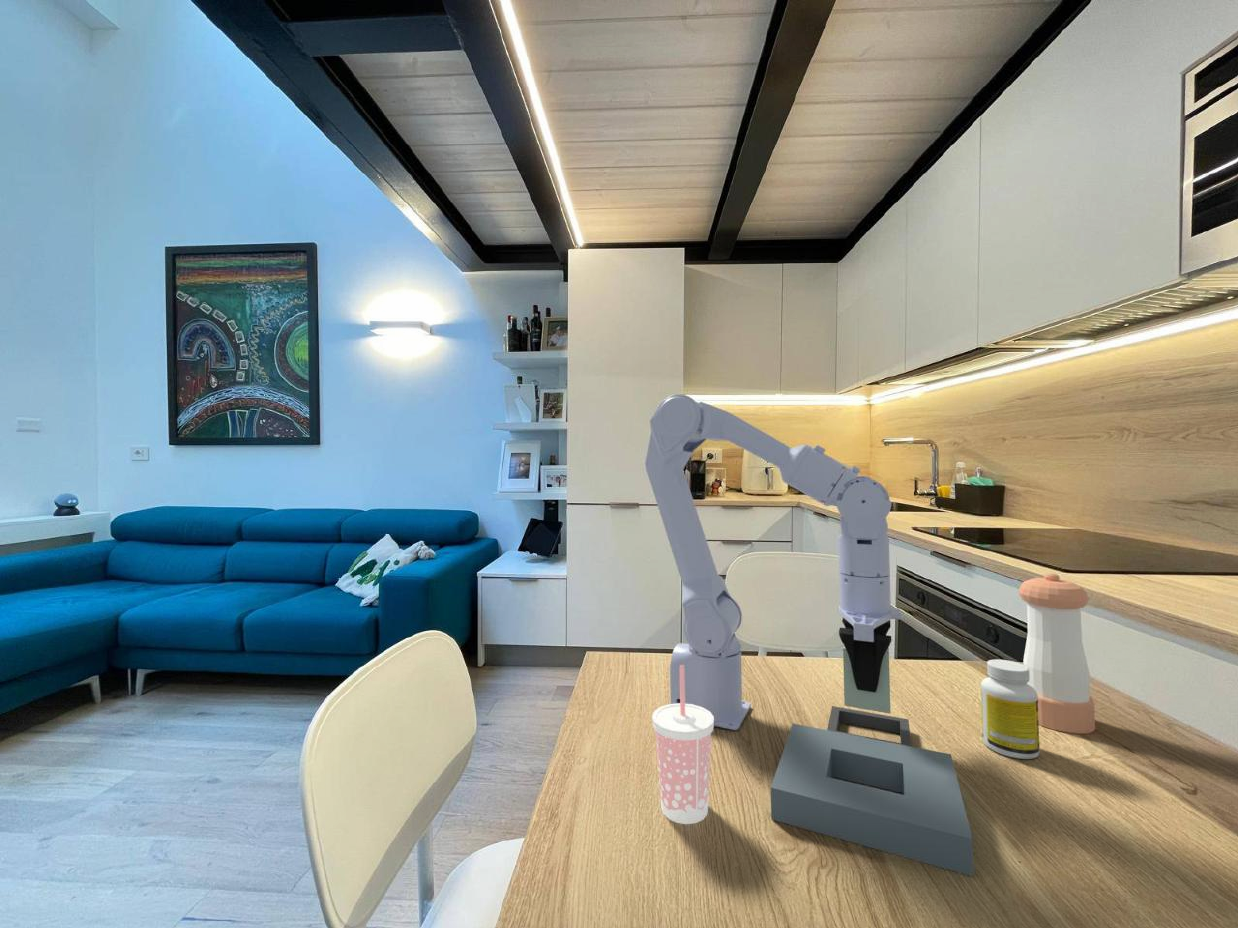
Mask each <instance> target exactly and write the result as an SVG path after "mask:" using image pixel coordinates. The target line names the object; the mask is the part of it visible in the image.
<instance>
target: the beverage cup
mask: <svg viewBox="0 0 1238 928" xmlns="http://www.w3.org/2000/svg"><path fill="white" fill-rule="evenodd" d="M651 720H652V727H653V729H654V731H655V743H656V754H657V756H656V757H657V769H658V780H659V781H658V782H659V795H660V807H661V811H662V813H663V815H664V816H665V818H667V819H668V820H669V821H672V822H674V823H676V824H677V823H678V824H682V825H683V824H684V825H691V824H692V825H693V824H697V823H699V822H702V821H703V820H704V819H705V818H707V816H708V812H709V795H710V794H709V792H710V791H709V790H710V789H709V788H710V769H711V768H710V767H711V766H710V765H711V763H710V762H711V743H712V741H711V738H712V733H713V732H714V727H715V726H714V716H713V715H712V714H711V712H710V711H708V710H707V709H705V708H703V707H700V706H697V705H693V704H685V676H684V665H680V703H676V704H671V703H669V704H665V705H662V706H659V707H658V708H657V709H655V710H654V711H653V713H652V716H651Z"/></svg>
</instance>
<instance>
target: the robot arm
mask: <svg viewBox="0 0 1238 928" xmlns="http://www.w3.org/2000/svg"><path fill="white" fill-rule="evenodd" d="M649 422H650V423H649V424H650V437H649V441H648V446H647V452H646V456H645V457H646V459H645V470H646V474H647V477H648V480H649V483H650V484H651V485H650V486H651V489H652V491H653V495H654V498H655V503H656V505H657V507H658V510H659V513H660V516H661V520H662V523H663V527H664V530H665V532H666V536H667V539H668V542H669V545H670V549H671V551H672V554H673V557H674V558H673V559H674V561H675V565H676V567H677V570H678V573H679V576H680V580H681V583H682V596H681V605H682V608H683V613H684V622H683V633H684V638H685V639H686V641H687V643H681V642H680V643H677V644H676V645H675V647H674V649H673V651H672V654H671V658H670V668H669V675H670V676H669V678H670V679H669V681H670V683H669V685H670V687H669V688H670V704H676V703H680V665H684V676H685V704H693V705H697V706H700V707H703V708H705V709H707V710H708V711H710V712H711V714H712V715H713V716H714V727H719V728H722V729H727V730H732V731H738V730H739V728H740V726H741V725H742V723H743V721H744V719H745V717H746V716H747V714H748V713H749V711H750V709H751V703H750V702H748V701H744V700H743V685H742V682H743V681H742V679H743V678H742V675H743V673H742V645H741V643H740V641H739V640H738V638H737V635H736V632H737V630H738V629H739V628H740V626H741V624H742V620H743V616H742V615H743V614H742V610H741V607H740V605H739V603H738V602H737V601H736V600H735V599H734V598H733V596H731V594H730V593H729V591H728V589H727V585H726V583H725V581H724V580H723V578H722V577H721V576H720V575H719V573H718V571H717V568H716V564H715V561H714V559H713V555H712V553H711V549H710V546H709V544H708V540H707V538H706V535H705V531H704V529H703V526H702V523H701V519H700V517H699V514H698V510H697V507H696V505H695V501H694V498H693V495H692V492H691V489H690V486H689V483H688V479H687V478H686V477H687V476H686V475H685V471H684V470H685V467H686V465H687V464H688V461H690V458H691V456H692V455H693V454H694V451H695V450H696V449H697V448H699V447H700V446H701V445H702V444H703V443H705V442H706V440H709V441H713V442H715V441H716V442H717V441H719V442H721V441H723V442H724V441H725V442H726V441H727V442H730V443H732V444H734V445H735V446H737V447H740V448H741V449H743V450H745V451H747V452H749V453H750V454H753V455H755V456H756V457H759V458H760V459H762V460H764V461H766V462H767V463H770V464H772V465H774V466H775V467H777V468H778V469H779V471H780V476H781V479H782V482H783V483H785V484H787V485H788V486H790V487H791V488H793V489H796V490H797V491H799V492H801V493H802V494H804V495H806V496H808V497H810V498H811V499H813V500H815V501H816V502H818V503H820V504H822V505H823V506H825V507H829V506H835V507H836V508H837V510H838V513H839V514H840V517H839V518H840V534H839V535H838V537H837V538H838V569H839V570H838V571H839V572H838V574H839V575H838V576H839V578H838V579H839V581H838V582H839V605H838V614H839V615H840V616H841V617H842V620H841V622H842V624H843V625H844V627H839V630H838V635H839V638H840V640H841V642H842V644H843V646H845V648H846V650H847V653H848V655H849V659H850V662H851V667H852V672H853V676H854V681H855V684H856V687H857V689H858V690H862V691H868V692H876V690H877V687H878V682H879V676H880V669H881V664H882V660H883V657H884V655H885V652H886V650H887V649H888V647H889V646H890V645H891V642H892V636H891V635H887V634H888V632H889V630H890V628H891V627H892V626H891V620H902V618H903V613H902V611H901V610H899V609H893V608H891V577H890V575H891V572H890V570H891V567H890V540H889V536H888V535H887V534H888V530H889V529H888V528H889V527H888V526H889V525H888V521H887V516H889V514H890V512H891V509H892V501H891V500H890V496H889V492H888V491H887V490H886V488H885V487H884V486H883V485H882V484H881V483H880V482H878V481H877V480H875V479H872V478H871V477H869V476H865V475H858V474H859V473H860V472H861V469H860V467H857V466H856V465H852V466H851V467H849V466H847V465H845V464H844V463H842V462H840V461H838V460H836V459H834V458H833V457H832V456H829V455H827V454H825V452H826V448H824V447H822V446H820V445H818V444H816V445H815V446H814V447H812V446H810V445H809V444H801V445H798V446H794V447H790V446H788V445H787V444H785V443H783V442H781V441H780V440H778V439H776V438H774V437H773V436H771V435H769V434H768V433H766V432H765V431H762V430H760V429H759V428H757V427H756V426H754V425H752V424H750V423H749V422H747V421H745V420H743V419H741V418H740V417H738V416H736V415H735V414H733V413H731V412H729V411H727V410H724V409H721V408H720V407H717V406H714V405H711V404H708V403H705V402H702V401H699V402H698V401H696V400H695V399H693V398H692V397H690V396H689V395H686V394H679V393H678V394H672V395H670V396H667V397H666V398H665V399H663V400H662V401H661V402H660V404H659V405H658V407H657V409H656V411H655V412H654V413H653V415H652V417H651V418H650V419H649Z"/></svg>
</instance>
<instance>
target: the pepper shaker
mask: <svg viewBox="0 0 1238 928" xmlns="http://www.w3.org/2000/svg"><path fill="white" fill-rule="evenodd" d="M1018 594H1019V596H1020V598H1021V599H1022V601H1024V602H1025V603H1026V612H1027V613H1026V614H1027V615H1026V616H1027V617H1026V620H1027V622H1026V623H1027V635H1026V637H1027V638H1026V642H1025V649H1024V654H1023V665H1025V666H1027V667H1028V668H1029V676H1030V679H1029V682H1027V684H1028V685H1030V686H1031V687H1033V688H1034V690H1035V691H1036V693H1037V697H1038V721H1039V726H1041V727H1044V728H1048V729H1051V730H1055V731H1059V732H1062V733H1069V734H1076V735H1077V734H1079V735H1081V734H1090V733H1093V732H1094V731H1095V730H1096V720H1095V719H1096V714H1095V702H1094V699H1093V698H1092V697H1091V696H1090V695H1091V693H1090V689H1091V687H1090V679H1091V677H1090V675H1091V673H1090V668H1089V665H1088V661H1087V656H1086V652H1085V649H1084V644H1083V643H1084V642H1083V632H1082V631H1083V629H1082V628H1083V627H1082V614H1081V613H1082V612H1081V609H1083V608H1086V606H1087V605H1088V602H1089V599H1090V598H1089V596H1088V594H1087V592H1086V591H1085V589H1084V588H1083V587H1082V586H1081V585H1079V584H1077V583H1074V582H1072V581H1070V580H1066V579H1061V577H1060V576H1059V575H1058V574H1056V573H1053V572H1052V573H1051V572H1048V573H1045V574H1044V575H1043V577H1033V578H1031V579H1028V580H1025V581H1023V582H1022V583H1021V584H1020V586H1019V590H1018Z"/></svg>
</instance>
